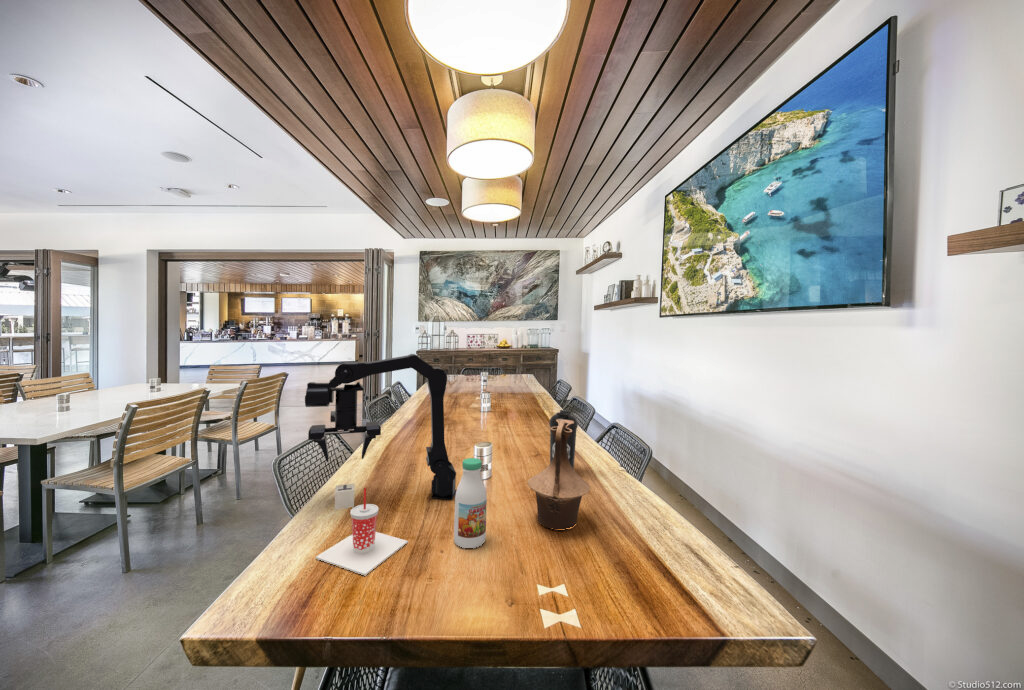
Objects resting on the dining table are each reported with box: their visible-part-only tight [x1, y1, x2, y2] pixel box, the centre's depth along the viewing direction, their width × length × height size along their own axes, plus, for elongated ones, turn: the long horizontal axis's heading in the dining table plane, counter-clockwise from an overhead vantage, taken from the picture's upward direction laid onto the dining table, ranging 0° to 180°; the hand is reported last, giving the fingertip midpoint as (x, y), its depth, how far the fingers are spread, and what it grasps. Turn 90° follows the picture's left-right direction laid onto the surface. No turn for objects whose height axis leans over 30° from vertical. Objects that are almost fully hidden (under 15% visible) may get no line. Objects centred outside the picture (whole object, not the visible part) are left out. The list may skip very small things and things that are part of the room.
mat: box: [315, 531, 409, 577], centre depth 89 cm, size 14×14×1 cm
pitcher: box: [527, 419, 591, 529], centre depth 106 cm, size 18×17×28 cm
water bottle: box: [548, 409, 579, 471], centre depth 141 cm, size 10×10×23 cm
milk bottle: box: [453, 457, 488, 549], centre depth 95 cm, size 8×8×20 cm
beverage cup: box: [350, 487, 379, 554], centre depth 89 cm, size 6×6×14 cm
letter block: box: [334, 483, 355, 511], centre depth 112 cm, size 5×5×5 cm
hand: (345, 460), depth 112 cm, fingers open, 9 cm apart
